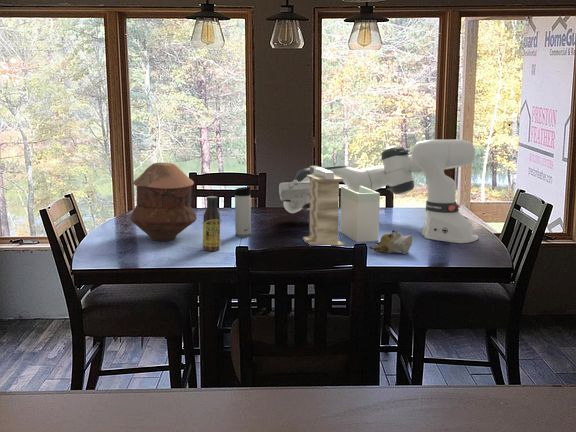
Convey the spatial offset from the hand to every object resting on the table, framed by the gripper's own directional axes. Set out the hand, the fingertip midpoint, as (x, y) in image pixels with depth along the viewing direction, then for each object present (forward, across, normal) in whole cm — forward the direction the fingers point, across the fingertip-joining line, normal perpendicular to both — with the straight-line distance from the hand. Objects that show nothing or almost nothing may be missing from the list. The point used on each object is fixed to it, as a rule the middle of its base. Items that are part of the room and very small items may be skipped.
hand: (306, 181), depth 267 cm
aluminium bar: (+18, 0, -5) cm, 19 cm away
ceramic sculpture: (+25, -20, -40) cm, 51 cm away
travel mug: (-10, +27, -19) cm, 34 cm away
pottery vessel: (-12, +58, -18) cm, 62 cm away
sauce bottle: (+8, +43, -30) cm, 53 cm away
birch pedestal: (+9, 0, -30) cm, 31 cm away
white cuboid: (+1, -18, -25) cm, 31 cm away
